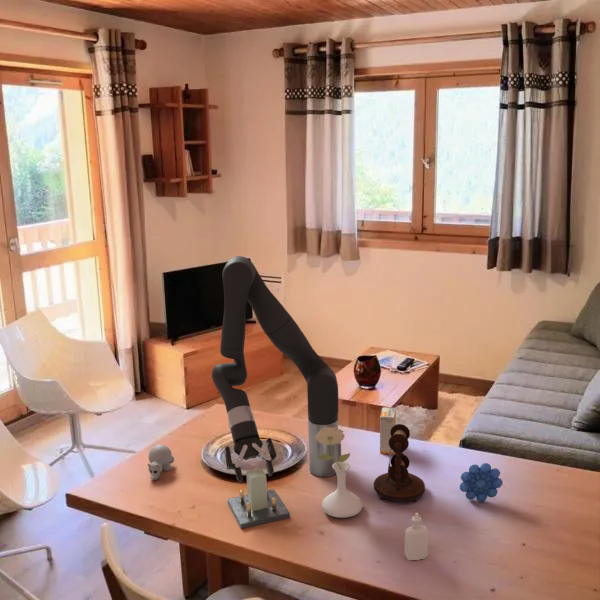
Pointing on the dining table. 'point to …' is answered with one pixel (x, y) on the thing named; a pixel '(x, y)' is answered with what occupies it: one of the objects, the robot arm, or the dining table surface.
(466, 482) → the blue ball cluster
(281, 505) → the grey gold peg board
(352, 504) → the flower in vase
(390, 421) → the supplement box
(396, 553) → the dining table surface
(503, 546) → the dining table surface
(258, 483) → the block
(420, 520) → the eye dropper bottle
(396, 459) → the wooden spool stand
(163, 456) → the round bodied animal figurine
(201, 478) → the dining table surface
